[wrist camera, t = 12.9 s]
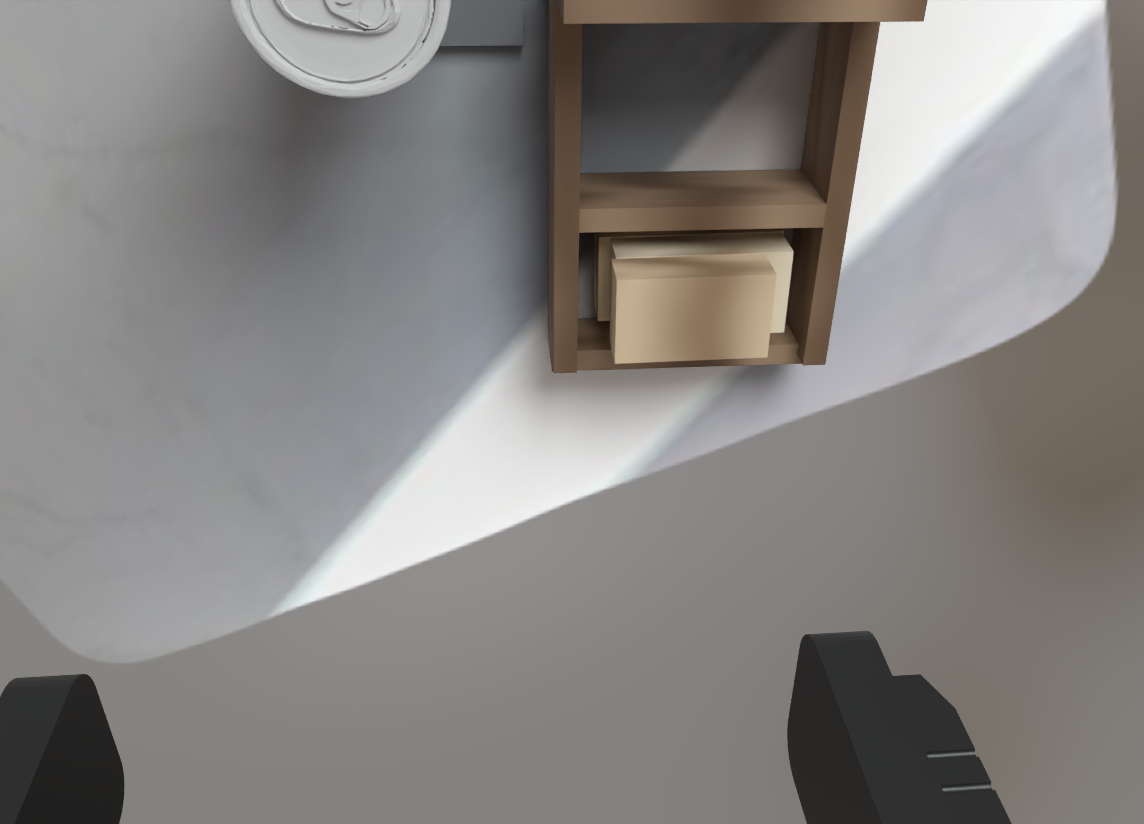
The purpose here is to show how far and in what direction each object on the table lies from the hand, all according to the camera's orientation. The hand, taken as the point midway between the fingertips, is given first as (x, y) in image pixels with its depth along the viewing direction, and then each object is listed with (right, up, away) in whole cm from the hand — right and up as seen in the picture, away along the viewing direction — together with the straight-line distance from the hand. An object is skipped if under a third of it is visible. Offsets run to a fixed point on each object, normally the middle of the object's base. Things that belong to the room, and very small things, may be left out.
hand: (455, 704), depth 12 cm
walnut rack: (+6, +14, +34) cm, 37 cm away
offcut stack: (+6, +10, +36) cm, 38 cm away
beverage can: (-6, +22, +27) cm, 35 cm away
